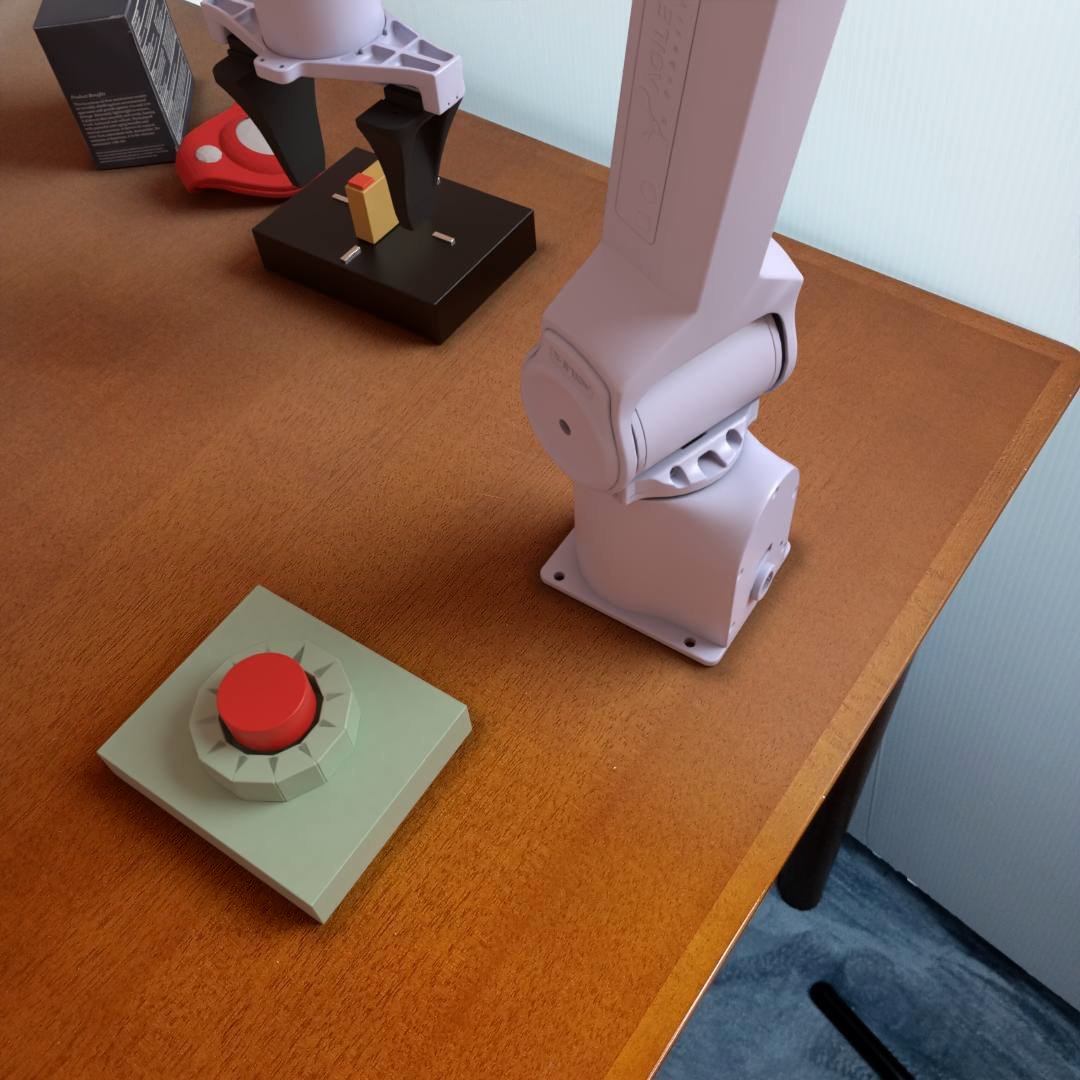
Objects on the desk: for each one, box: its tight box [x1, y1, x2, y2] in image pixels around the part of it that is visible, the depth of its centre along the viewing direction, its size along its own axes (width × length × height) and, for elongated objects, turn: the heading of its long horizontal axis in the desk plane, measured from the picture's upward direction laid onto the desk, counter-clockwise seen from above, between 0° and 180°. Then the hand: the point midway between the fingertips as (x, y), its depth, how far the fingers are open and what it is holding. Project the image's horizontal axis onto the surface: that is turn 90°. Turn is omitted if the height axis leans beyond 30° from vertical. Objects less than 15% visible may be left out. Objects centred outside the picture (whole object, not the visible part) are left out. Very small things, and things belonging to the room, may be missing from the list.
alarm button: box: [216, 652, 316, 751], centre depth 43 cm, size 4×4×2 cm
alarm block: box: [96, 584, 473, 925], centre depth 45 cm, size 12×10×4 cm
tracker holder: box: [174, 101, 323, 199], centre depth 73 cm, size 12×4×10 cm
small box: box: [32, 0, 196, 171], centre depth 74 cm, size 11×6×10 cm, turn 6°
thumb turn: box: [345, 160, 399, 244], centre depth 63 cm, size 5×1×4 cm, turn 146°
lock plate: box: [251, 146, 538, 345], centre depth 65 cm, size 14×10×3 cm
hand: (362, 198), depth 57 cm, fingers open, 7 cm apart
